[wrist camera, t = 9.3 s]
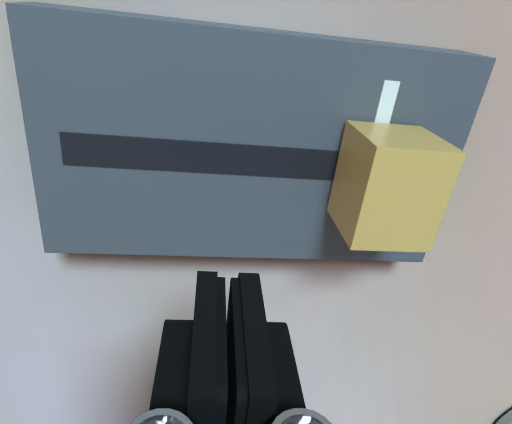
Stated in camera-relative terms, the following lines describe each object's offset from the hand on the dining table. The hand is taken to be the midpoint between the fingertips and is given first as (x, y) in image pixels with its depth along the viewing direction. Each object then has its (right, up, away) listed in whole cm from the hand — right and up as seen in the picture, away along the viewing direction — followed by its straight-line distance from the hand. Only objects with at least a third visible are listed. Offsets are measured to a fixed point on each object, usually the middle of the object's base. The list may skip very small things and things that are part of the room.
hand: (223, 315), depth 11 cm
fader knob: (+7, +5, +10) cm, 13 cm away
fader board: (+1, +7, +12) cm, 14 cm away
